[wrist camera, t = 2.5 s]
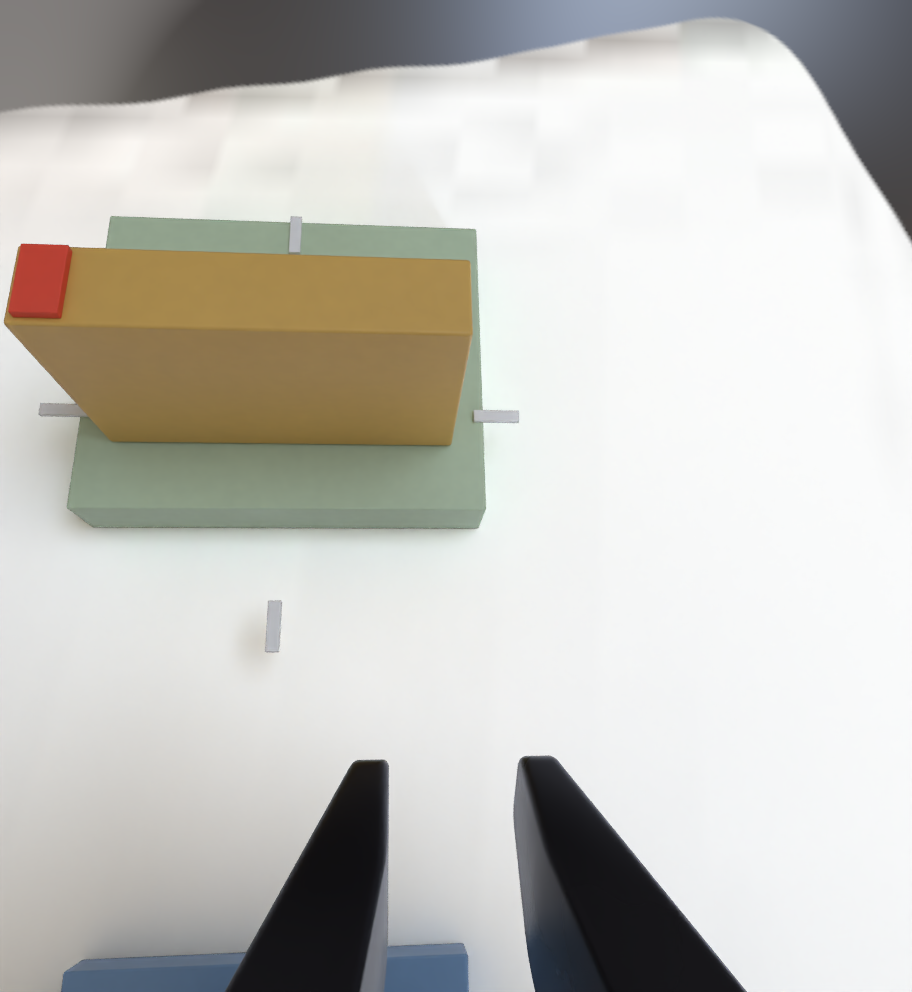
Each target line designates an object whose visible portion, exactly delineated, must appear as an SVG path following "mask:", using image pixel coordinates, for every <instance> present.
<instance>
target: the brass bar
mask: <svg viewBox="0 0 912 992" xmlns="http://www.w3.org/2000/svg"><path fill="white" fill-rule="evenodd" d="M4 324H5V326H6V327H7V328H8V329H9V330H10V331H11V332H12V333H13V334H14V336H15V337H16V338H17V339H18V340H19V341H20V342H21V343H22V344H23V345H24V347H25V348H26V349H27V350H28V351H29V352H30V353H31V354H32V355H33V356H34V357H35V359H36V360H37V361H38V362H39V363H40V364H41V365H42V366H43V367H44V368H45V370H46V371H47V372H48V373H49V374H50V375H51V376H52V377H53V378H54V379H55V381H56V382H57V383H58V384H59V385H60V386H61V387H62V388H63V389H64V390H65V392H66V393H67V394H68V395H69V396H70V397H71V398H72V399H73V400H74V401H75V402H76V404H77V405H78V406H79V407H80V408H81V409H82V410H83V411H84V412H85V413H86V415H87V416H88V417H89V418H90V419H91V420H92V421H93V422H94V423H95V424H96V426H97V427H98V428H99V429H100V430H101V431H102V432H103V433H104V434H105V435H106V437H107V438H108V439H109V440H110V441H112V442H197V443H283V444H369V445H451V443H452V438H453V433H454V428H455V423H456V418H457V413H458V408H459V402H460V397H461V392H462V387H463V382H464V377H465V372H466V367H467V361H468V356H469V351H470V346H471V341H472V336H473V321H472V290H471V263H470V261H469V260H452V259H421V258H390V257H359V256H328V255H296V254H265V253H234V252H203V251H172V250H141V249H110V248H79V247H69V246H68V245H47V244H21V246H19V247H18V251H17V256H16V262H15V267H14V272H13V277H12V282H11V287H10V292H9V298H8V303H7V308H6V313H5V318H4Z"/></svg>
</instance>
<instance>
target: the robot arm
mask: <svg viewBox="0 0 912 992" xmlns="http://www.w3.org/2000/svg"><path fill="white" fill-rule="evenodd" d="M513 813H514V830H515V839H516V849H517V859H518V868H519V878H520V887H521V897H522V907H523V916H524V926H525V935H526V943H527V950H528V957H529V963H530V968H531V973H532V979H533V983H534V988H535V992H747V991H746V990H745V989H744V988H743V987H742V985H741V984H740V983H739V982H738V980H737V979H736V978H735V977H734V976H733V974H732V973H731V972H730V971H729V969H728V968H727V967H726V966H725V965H724V963H723V962H722V961H721V960H720V958H719V957H718V956H717V955H716V954H715V952H714V951H713V950H712V949H711V947H710V946H709V945H708V944H707V943H706V941H705V940H704V939H703V938H702V936H701V935H700V934H699V933H698V932H697V930H696V929H695V928H694V927H693V925H692V924H691V923H690V922H689V921H688V919H687V918H686V917H685V916H684V914H683V913H682V912H681V911H680V910H679V908H678V907H677V906H676V905H675V903H674V902H673V901H672V900H671V899H670V897H669V896H668V895H667V894H666V892H665V891H664V890H663V889H662V888H661V886H660V885H659V884H658V883H657V881H656V880H655V879H654V878H653V877H652V875H651V874H650V873H649V872H648V870H647V869H646V868H645V867H644V866H643V864H642V863H641V862H640V861H639V859H638V858H637V857H636V856H635V855H634V853H633V852H632V851H631V850H630V848H629V847H628V846H627V845H626V844H625V842H624V841H623V840H622V839H621V837H620V836H619V835H618V834H617V833H616V831H615V830H614V829H613V828H612V826H611V825H610V824H609V823H608V822H607V820H606V819H605V818H604V817H603V815H602V814H601V813H600V812H599V811H598V809H597V808H596V807H595V806H594V804H593V803H592V802H591V801H590V800H589V798H588V797H587V796H586V795H585V793H584V792H583V791H582V790H581V789H580V787H579V786H578V785H577V784H576V782H575V781H574V780H573V779H572V778H571V776H570V775H569V774H568V773H567V771H566V770H565V769H564V768H563V767H562V765H561V764H560V763H559V762H558V761H557V759H555V758H554V757H552V756H524V757H522V758H521V759H520V760H519V763H518V769H517V779H516V788H515V797H514V812H513ZM388 833H389V765H388V763H387V761H385V760H357V761H355V762H353V763H352V765H351V766H350V768H349V769H348V771H347V773H346V775H345V776H344V778H343V780H342V782H341V784H340V785H339V787H338V789H337V791H336V793H335V794H334V796H333V798H332V800H331V802H330V803H329V805H328V807H327V809H326V811H325V812H324V814H323V816H322V818H321V820H320V821H319V823H318V825H317V827H316V828H315V830H314V832H313V834H312V836H311V837H310V839H309V841H308V843H307V845H306V846H305V848H304V850H303V852H302V854H301V855H300V857H299V859H298V861H297V863H296V864H295V866H294V868H293V870H292V871H291V873H290V875H289V877H288V879H287V880H286V882H285V884H284V886H283V888H282V889H281V891H280V893H279V895H278V897H277V898H276V900H275V902H274V904H273V906H272V907H271V909H270V911H269V913H268V915H267V916H266V918H265V920H264V922H263V923H262V925H261V927H260V929H259V931H258V932H257V934H256V936H255V938H254V940H253V941H252V943H251V945H250V947H249V949H248V950H247V952H246V954H245V956H244V958H243V959H242V961H241V963H240V965H239V966H238V968H237V970H236V972H235V974H234V975H233V977H232V979H231V981H230V983H229V984H228V986H227V988H226V990H225V992H384V987H385V977H386V966H387V944H388Z"/></svg>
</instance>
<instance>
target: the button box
mask: <svg viewBox="0 0 912 992" xmlns="http://www.w3.org/2000/svg"><path fill="white" fill-rule="evenodd" d="M245 954H246V953H227V954H203V955H180V956H157V957H134V958H111V959H88V960H82V961H80V962H79V963H77V964H76V965H74V966H73V967H71V968H70V969H68V970H67V971H65V972H64V974H63V982H62V990H61V992H225V990H226V988H227V986H228V984H229V983H230V981H231V979H232V977H233V975H234V974H235V972H236V970H237V968H238V966H239V965H240V963H241V961H242V959H243V958H244V956H245ZM384 992H469V982H468V955H467V952H466V950H465V947H464V944H462V943H457V944H434V945H411V946H388V947H387V966H386V977H385V987H384Z"/></svg>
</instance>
